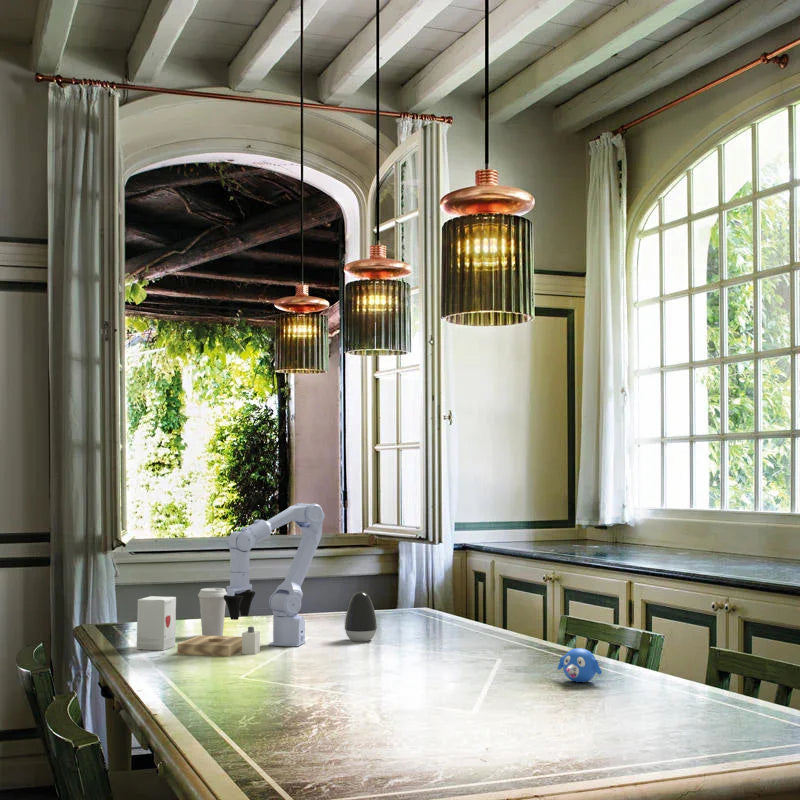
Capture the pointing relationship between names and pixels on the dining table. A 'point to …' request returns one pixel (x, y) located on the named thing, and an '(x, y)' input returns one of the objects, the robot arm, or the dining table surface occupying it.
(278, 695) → the dining table surface
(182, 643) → the socket plate
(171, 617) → the supplement box
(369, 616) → the two-tone egg ornament
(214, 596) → the coffee cup
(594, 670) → the blue mole toy
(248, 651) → the plug
